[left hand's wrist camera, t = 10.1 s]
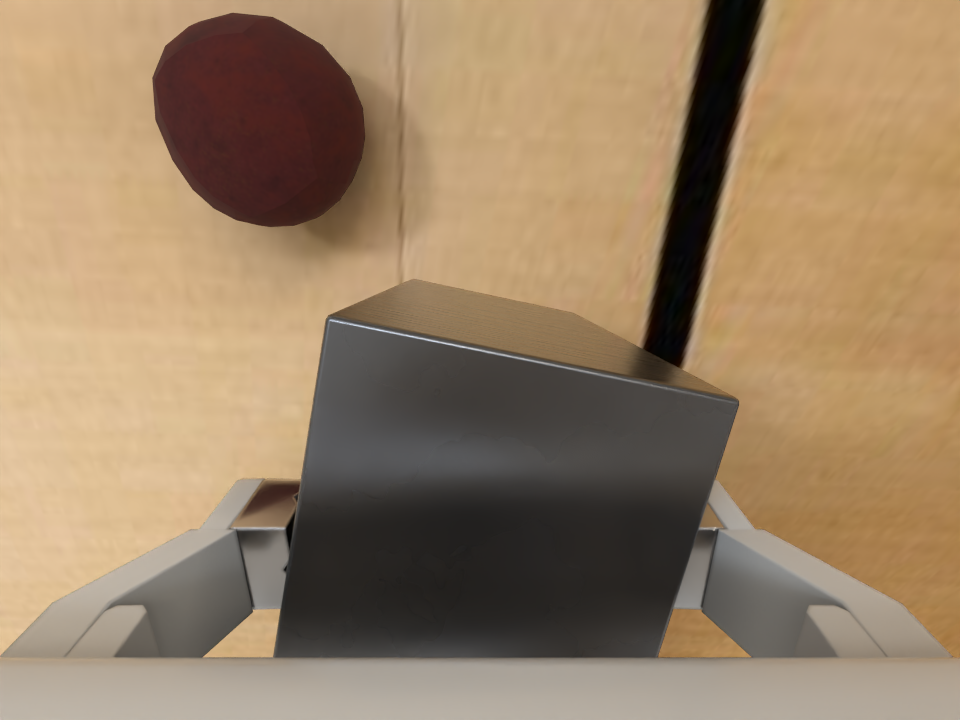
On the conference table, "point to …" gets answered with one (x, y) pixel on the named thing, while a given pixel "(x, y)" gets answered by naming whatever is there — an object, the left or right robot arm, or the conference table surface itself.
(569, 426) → the box
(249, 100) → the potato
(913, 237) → the conference table surface
